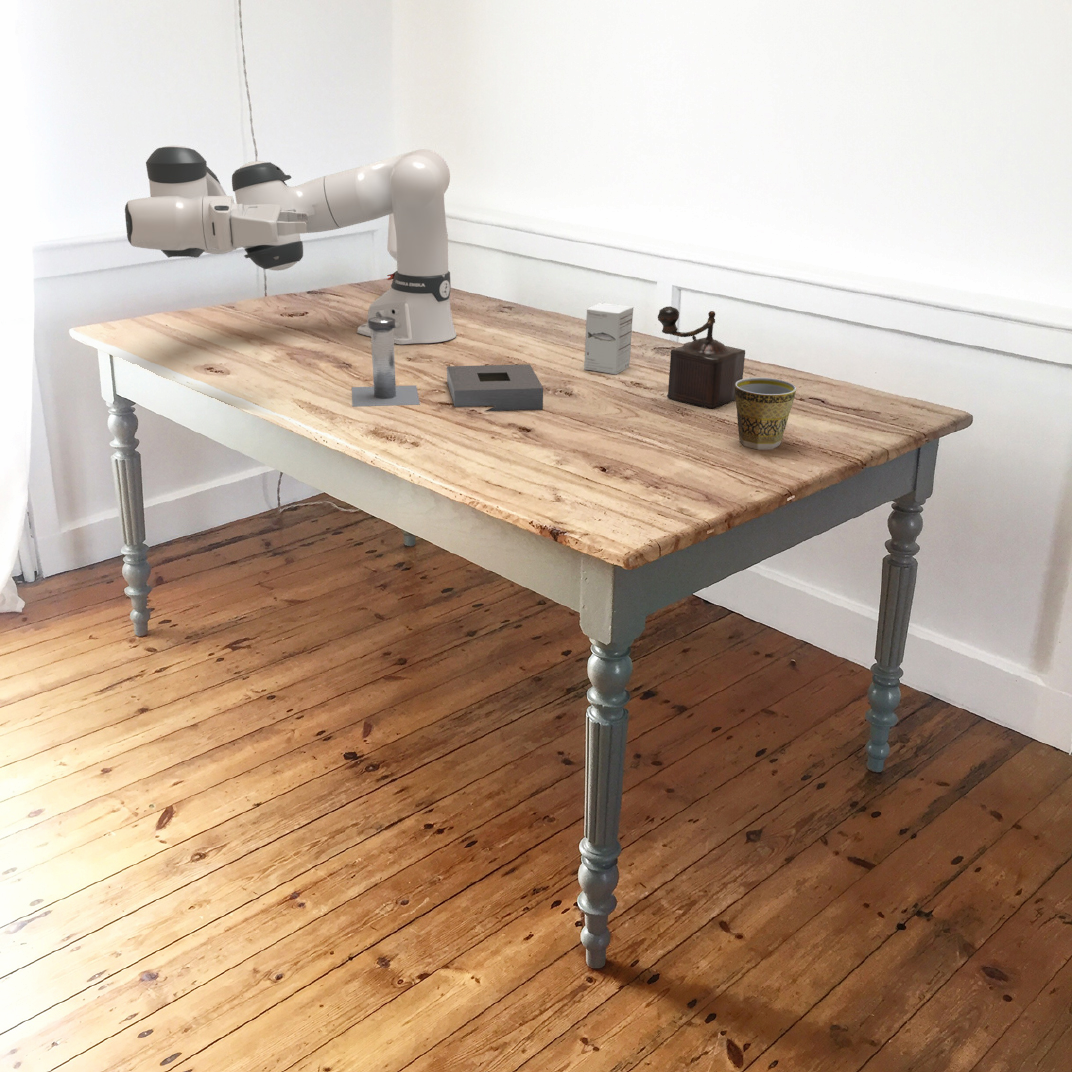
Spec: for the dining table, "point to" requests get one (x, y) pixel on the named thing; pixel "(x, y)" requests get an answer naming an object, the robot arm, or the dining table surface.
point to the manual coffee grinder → (701, 365)
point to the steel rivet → (383, 356)
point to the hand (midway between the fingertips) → (307, 222)
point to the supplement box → (608, 338)
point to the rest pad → (367, 398)
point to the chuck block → (495, 387)
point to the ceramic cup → (763, 411)
